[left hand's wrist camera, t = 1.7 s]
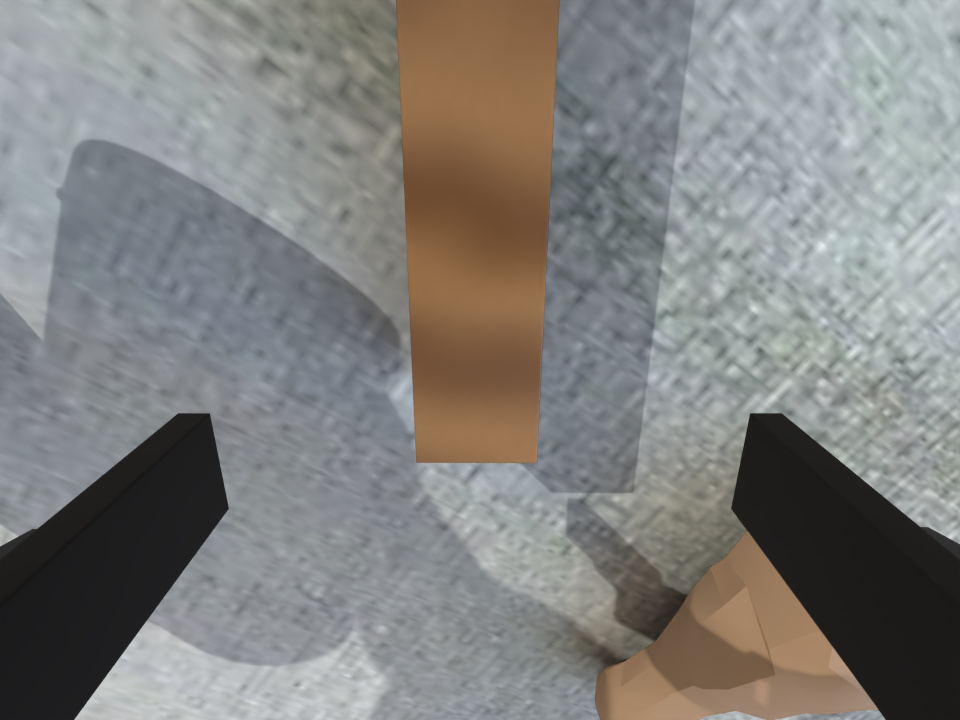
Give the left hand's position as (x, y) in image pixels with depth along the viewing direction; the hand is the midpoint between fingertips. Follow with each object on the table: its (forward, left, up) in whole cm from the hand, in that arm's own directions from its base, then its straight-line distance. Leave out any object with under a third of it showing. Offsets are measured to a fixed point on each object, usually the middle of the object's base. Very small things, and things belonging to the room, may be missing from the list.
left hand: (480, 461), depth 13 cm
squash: (+13, -20, -14) cm, 28 cm away
